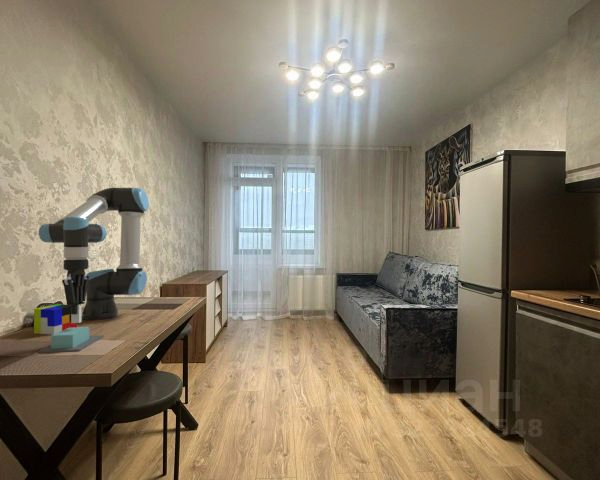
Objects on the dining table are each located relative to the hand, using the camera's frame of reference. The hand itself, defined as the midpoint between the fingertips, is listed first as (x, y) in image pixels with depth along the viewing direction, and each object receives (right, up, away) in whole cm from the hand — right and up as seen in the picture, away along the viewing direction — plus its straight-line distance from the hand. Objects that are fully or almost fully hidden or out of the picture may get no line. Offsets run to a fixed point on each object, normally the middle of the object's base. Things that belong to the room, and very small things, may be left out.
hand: (76, 322), depth 117 cm
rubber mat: (0, -7, -2) cm, 8 cm away
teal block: (0, -5, +2) cm, 5 cm away
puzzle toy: (-20, -8, +16) cm, 27 cm away
